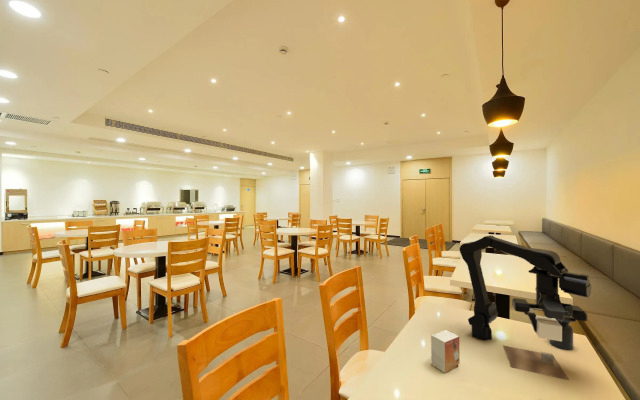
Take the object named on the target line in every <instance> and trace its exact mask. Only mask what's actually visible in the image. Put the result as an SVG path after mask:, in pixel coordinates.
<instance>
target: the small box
mask: <svg viewBox="0 0 640 400" xmlns="http://www.w3.org/2000/svg"><path fill="white" fill-rule="evenodd" d="M430 342H431V343H430V345H431V347H430V349H431V350H430V351H431V352H430V353H431V356H430V359H431V360H430V361H431V365H432V366H434V367H435V368H437V369H438V370H439V371H441V372H443V373H444V374H446V373H448V372H450V371H452V370H453V369H456V368H458V367H459V364H461V363H460V336H459V335H458V334H455V333H453V332H451V331H449V330H447V329H444V330H441V331H439V332H437V333H434V334H431V335H430Z"/></svg>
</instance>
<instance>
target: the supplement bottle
mask: <svg viewBox="0 0 640 400" xmlns="http://www.w3.org/2000/svg"><path fill="white" fill-rule="evenodd" d="M556 320H557V319H556ZM570 323H571V322H570ZM570 323H568V324H567V326H566V327H565V329H564V331H563V332H562V341H556V340H550V339H548V342H549V344H550V346H552V347H554V348H556V349H559V350H561V351H562V350H563V351H573V350H574V328H573V326H572V325H571V324H570Z"/></svg>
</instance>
